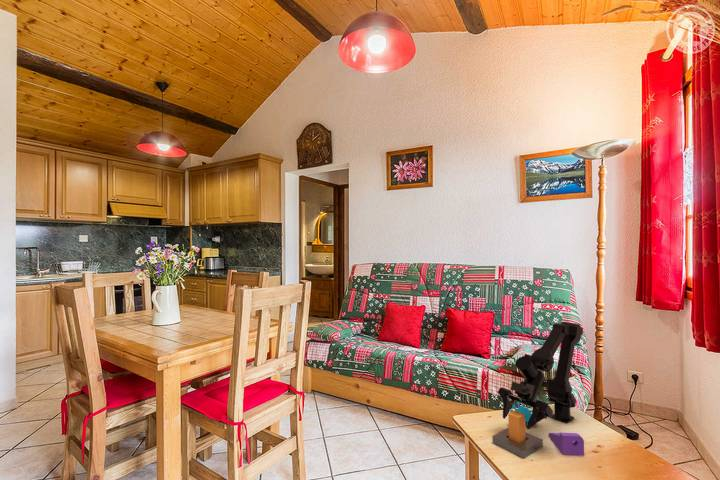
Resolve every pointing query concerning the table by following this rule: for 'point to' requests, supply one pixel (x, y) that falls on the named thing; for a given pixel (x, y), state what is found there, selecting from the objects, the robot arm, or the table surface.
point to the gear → (523, 411)
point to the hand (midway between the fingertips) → (515, 423)
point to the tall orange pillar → (517, 427)
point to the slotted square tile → (516, 448)
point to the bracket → (568, 443)
